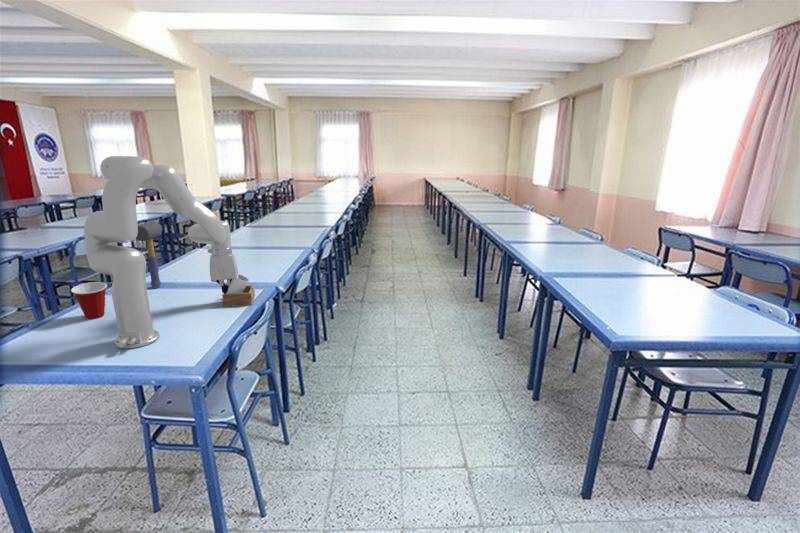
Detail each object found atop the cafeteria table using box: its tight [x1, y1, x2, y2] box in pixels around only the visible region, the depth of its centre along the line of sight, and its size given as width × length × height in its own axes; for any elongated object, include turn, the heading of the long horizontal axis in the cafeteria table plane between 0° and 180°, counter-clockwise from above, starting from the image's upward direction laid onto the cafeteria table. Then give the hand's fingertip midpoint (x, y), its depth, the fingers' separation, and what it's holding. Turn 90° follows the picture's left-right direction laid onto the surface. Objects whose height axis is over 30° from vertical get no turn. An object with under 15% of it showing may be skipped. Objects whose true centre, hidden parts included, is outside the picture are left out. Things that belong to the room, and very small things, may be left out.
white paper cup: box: [226, 273, 250, 294], centre depth 172 cm, size 7×7×10 cm
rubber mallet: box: [135, 220, 163, 289], centre depth 184 cm, size 12×8×30 cm, turn 3°
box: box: [222, 284, 256, 307], centre depth 173 cm, size 11×11×5 cm
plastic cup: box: [70, 281, 108, 320], centre depth 153 cm, size 11×11×12 cm
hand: (226, 293), depth 172 cm, fingers closed
